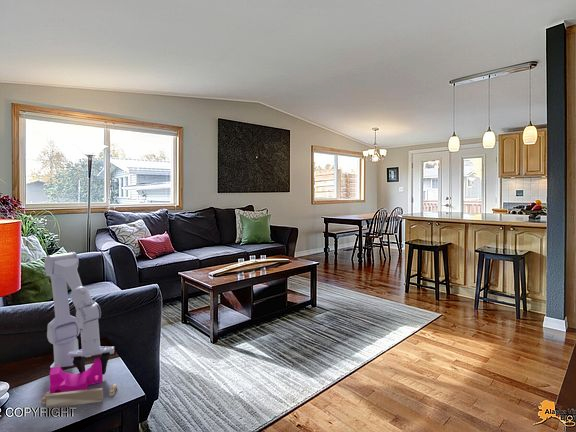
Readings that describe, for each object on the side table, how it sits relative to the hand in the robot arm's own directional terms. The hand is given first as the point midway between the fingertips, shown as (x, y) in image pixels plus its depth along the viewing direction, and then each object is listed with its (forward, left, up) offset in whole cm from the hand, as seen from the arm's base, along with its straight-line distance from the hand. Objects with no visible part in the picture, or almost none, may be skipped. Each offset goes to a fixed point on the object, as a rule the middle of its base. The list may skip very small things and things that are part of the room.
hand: (93, 374), depth 124 cm
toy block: (+4, -4, -2) cm, 6 cm away
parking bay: (+10, -1, -2) cm, 10 cm away
